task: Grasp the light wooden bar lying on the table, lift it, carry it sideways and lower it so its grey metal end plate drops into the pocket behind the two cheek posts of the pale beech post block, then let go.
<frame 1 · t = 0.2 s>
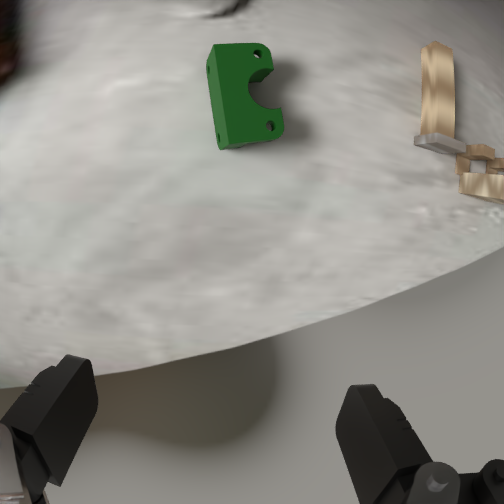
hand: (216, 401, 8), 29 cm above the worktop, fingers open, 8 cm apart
clamp: (242, 102, 33), on the worktop
post block: (477, 158, 35), on the worktop
light wooden bar: (430, 94, 33), on the worktop
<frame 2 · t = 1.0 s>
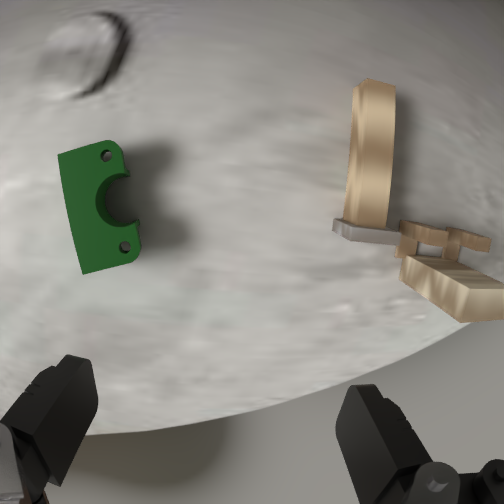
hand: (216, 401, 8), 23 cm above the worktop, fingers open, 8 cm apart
clamp: (113, 202, 30), on the worktop
post block: (431, 231, 31), on the worktop
light wooden bar: (362, 154, 29), on the worktop
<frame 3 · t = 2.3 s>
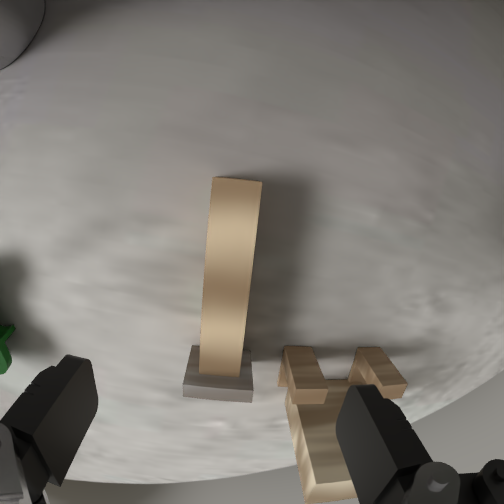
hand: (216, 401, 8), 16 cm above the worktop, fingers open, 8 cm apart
post block: (333, 354, 26), on the worktop
light wooden bar: (228, 270, 24), on the worktop
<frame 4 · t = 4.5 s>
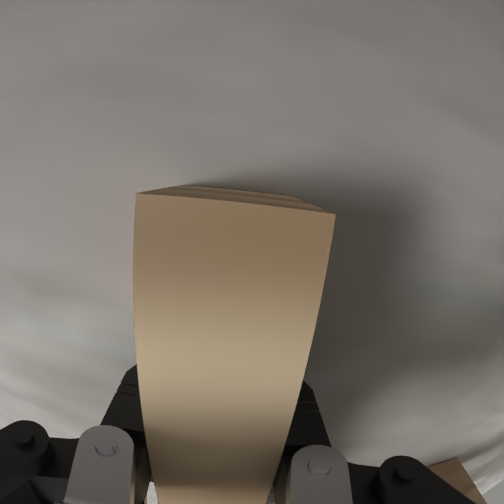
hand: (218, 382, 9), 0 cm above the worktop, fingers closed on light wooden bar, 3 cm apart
post block: (392, 481, 12), on the worktop
light wooden bar: (217, 397, 10), on the worktop, touching gripper
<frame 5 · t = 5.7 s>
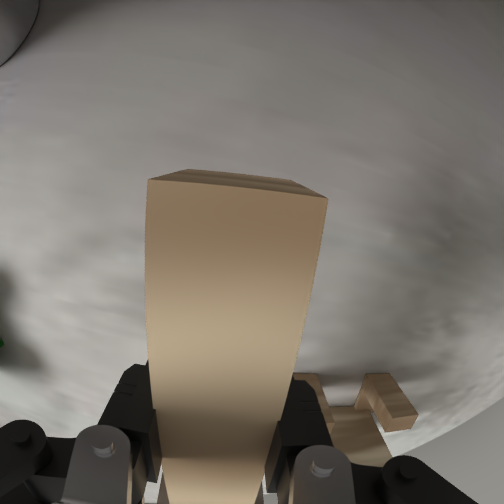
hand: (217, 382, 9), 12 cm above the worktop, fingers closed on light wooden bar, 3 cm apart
post block: (339, 381, 24), on the worktop
light wooden bar: (219, 371, 11), point 11 cm above the worktop, touching gripper
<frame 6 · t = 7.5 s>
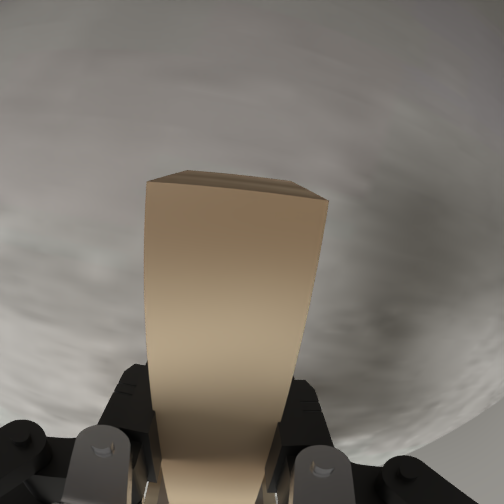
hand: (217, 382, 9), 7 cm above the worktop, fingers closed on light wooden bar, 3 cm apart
post block: (217, 389, 18), on the worktop
light wooden bar: (219, 373, 11), point 6 cm above the worktop, touching gripper
when the fingers open (2 cm above the worktop, at t = 9.0 s): light wooden bar stays where it is, resting on post block.
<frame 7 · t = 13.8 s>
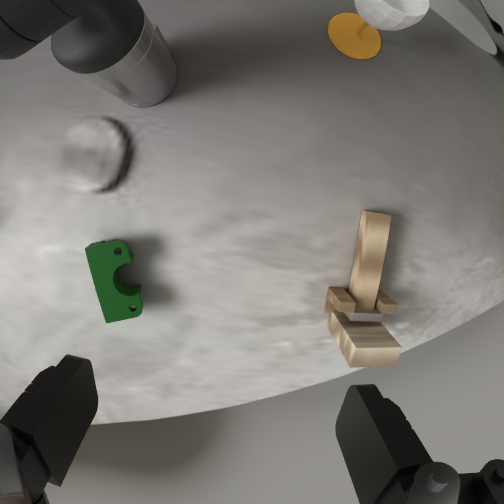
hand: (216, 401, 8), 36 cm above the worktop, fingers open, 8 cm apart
cup: (354, 35, 37), on the worktop
clamp: (123, 272, 45), on the worktop
post block: (354, 293, 47), on the worktop
light wooden bar: (363, 257, 45), resting on post block
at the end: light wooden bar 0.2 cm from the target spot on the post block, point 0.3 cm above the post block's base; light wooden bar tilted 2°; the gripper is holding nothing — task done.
